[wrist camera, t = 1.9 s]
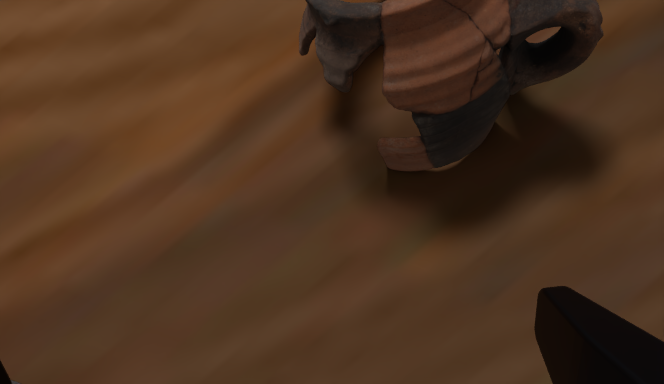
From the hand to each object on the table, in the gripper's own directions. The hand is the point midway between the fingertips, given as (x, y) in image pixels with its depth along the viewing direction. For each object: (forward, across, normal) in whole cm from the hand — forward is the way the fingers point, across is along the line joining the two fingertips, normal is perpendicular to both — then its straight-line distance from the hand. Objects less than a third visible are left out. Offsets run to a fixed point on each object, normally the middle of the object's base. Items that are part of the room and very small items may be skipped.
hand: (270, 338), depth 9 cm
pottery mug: (+18, -7, +1) cm, 19 cm away
